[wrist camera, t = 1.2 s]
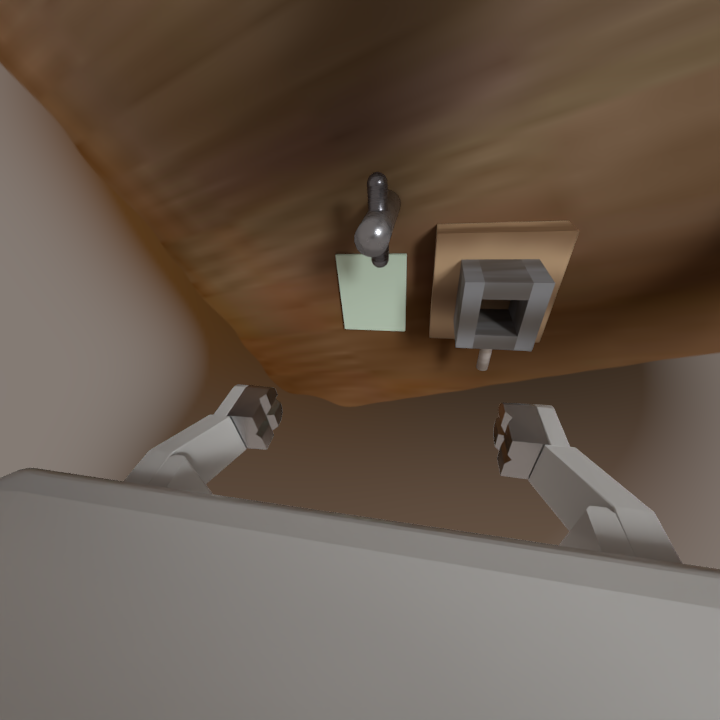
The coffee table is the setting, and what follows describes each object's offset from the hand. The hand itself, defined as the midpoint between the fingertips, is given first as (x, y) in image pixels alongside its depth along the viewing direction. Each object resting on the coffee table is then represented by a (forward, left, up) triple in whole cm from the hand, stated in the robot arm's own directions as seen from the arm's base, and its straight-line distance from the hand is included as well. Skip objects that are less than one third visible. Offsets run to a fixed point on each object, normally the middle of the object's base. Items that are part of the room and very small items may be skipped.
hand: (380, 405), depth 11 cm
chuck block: (+7, +8, -26) cm, 28 cm away
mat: (+9, -5, -26) cm, 28 cm away
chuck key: (-1, -3, -26) cm, 26 cm away
